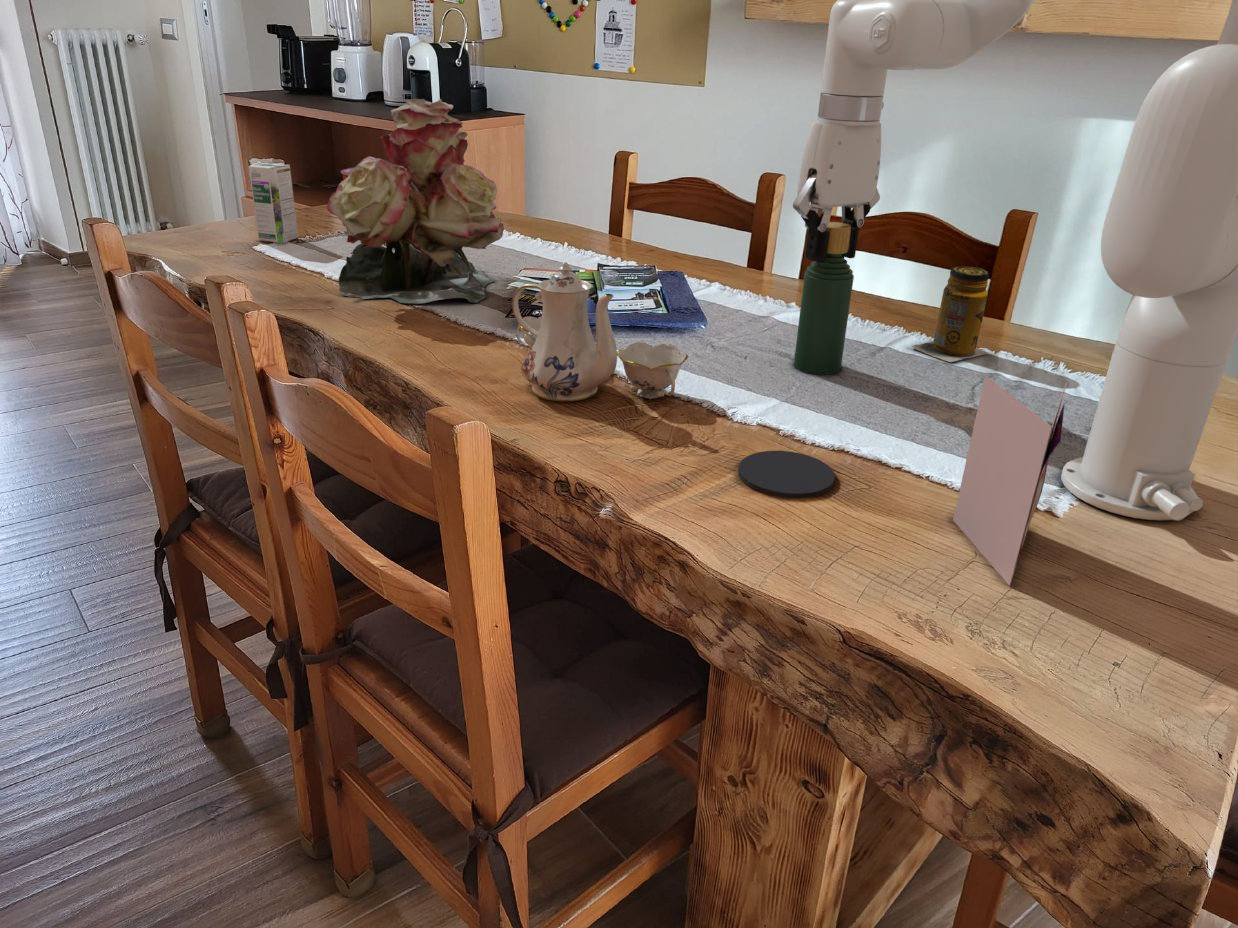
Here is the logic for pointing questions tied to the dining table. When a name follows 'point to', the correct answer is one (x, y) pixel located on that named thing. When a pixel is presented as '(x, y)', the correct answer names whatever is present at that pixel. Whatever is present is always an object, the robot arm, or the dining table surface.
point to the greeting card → (1004, 475)
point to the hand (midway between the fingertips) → (830, 256)
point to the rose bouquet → (417, 213)
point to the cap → (838, 237)
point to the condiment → (959, 316)
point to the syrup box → (273, 202)
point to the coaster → (786, 474)
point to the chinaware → (585, 346)
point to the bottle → (824, 316)
